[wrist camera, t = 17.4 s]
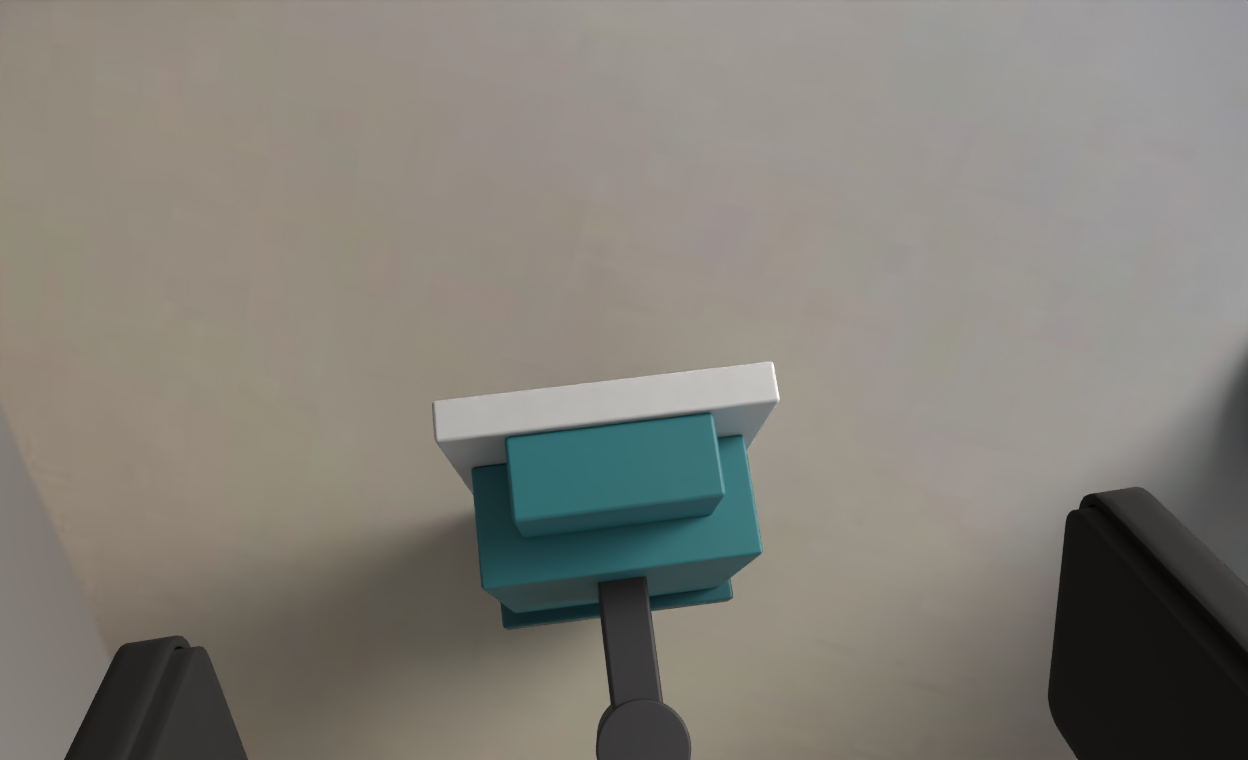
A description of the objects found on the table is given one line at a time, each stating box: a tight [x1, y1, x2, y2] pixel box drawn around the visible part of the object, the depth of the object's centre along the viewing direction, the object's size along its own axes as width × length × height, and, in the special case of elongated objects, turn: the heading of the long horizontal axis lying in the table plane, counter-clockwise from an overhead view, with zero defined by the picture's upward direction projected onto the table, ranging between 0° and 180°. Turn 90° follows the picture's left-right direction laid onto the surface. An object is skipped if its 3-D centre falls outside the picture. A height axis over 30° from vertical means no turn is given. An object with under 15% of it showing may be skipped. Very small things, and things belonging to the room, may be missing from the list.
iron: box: [432, 362, 780, 760], centre depth 27 cm, size 13×7×9 cm
